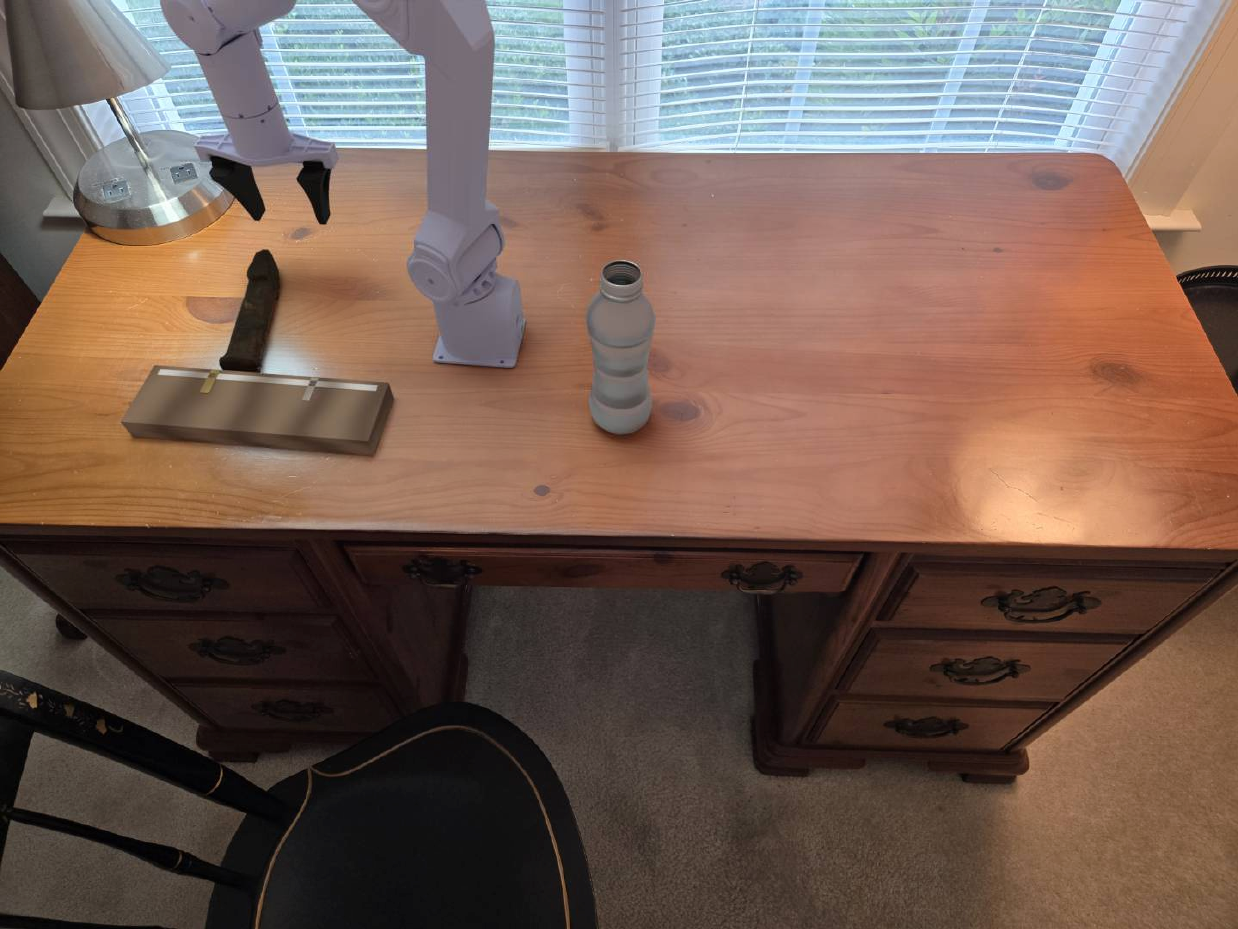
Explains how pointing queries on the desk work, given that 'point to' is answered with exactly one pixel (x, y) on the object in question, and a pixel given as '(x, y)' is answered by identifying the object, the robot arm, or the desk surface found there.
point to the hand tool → (253, 315)
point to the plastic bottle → (620, 349)
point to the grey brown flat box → (260, 410)
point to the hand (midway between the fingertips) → (292, 217)
